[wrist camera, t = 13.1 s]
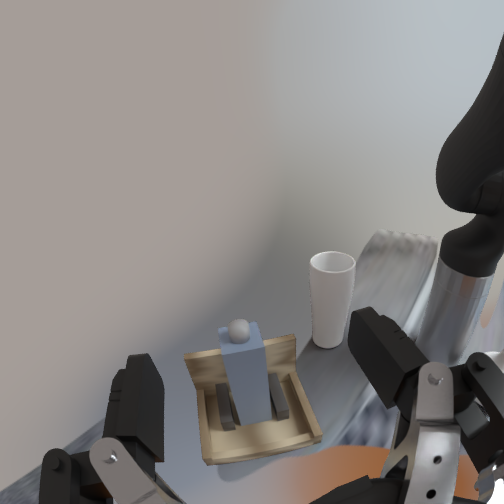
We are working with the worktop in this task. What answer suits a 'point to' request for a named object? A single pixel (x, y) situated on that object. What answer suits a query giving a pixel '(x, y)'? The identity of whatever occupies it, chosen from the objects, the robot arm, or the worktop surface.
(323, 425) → the worktop surface
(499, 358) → the flower in vase
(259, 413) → the blue square bottle
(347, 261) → the drinking glass
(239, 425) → the box
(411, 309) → the worktop surface
